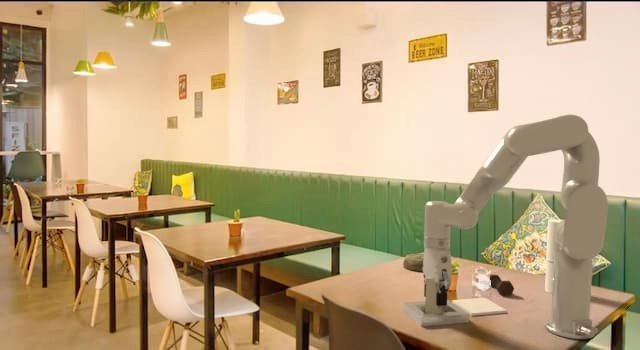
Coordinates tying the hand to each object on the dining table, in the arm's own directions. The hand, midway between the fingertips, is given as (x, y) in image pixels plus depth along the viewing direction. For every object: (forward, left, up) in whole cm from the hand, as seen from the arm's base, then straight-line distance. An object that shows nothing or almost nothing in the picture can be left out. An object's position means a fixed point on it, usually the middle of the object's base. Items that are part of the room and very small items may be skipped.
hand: (435, 300), depth 145 cm
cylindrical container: (+13, -53, -5) cm, 55 cm away
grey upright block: (0, 0, -5) cm, 5 cm away
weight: (+52, -19, -5) cm, 56 cm away
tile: (+4, -17, -5) cm, 18 cm away
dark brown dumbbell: (+20, -34, -5) cm, 40 cm away
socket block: (0, 0, -5) cm, 5 cm away
